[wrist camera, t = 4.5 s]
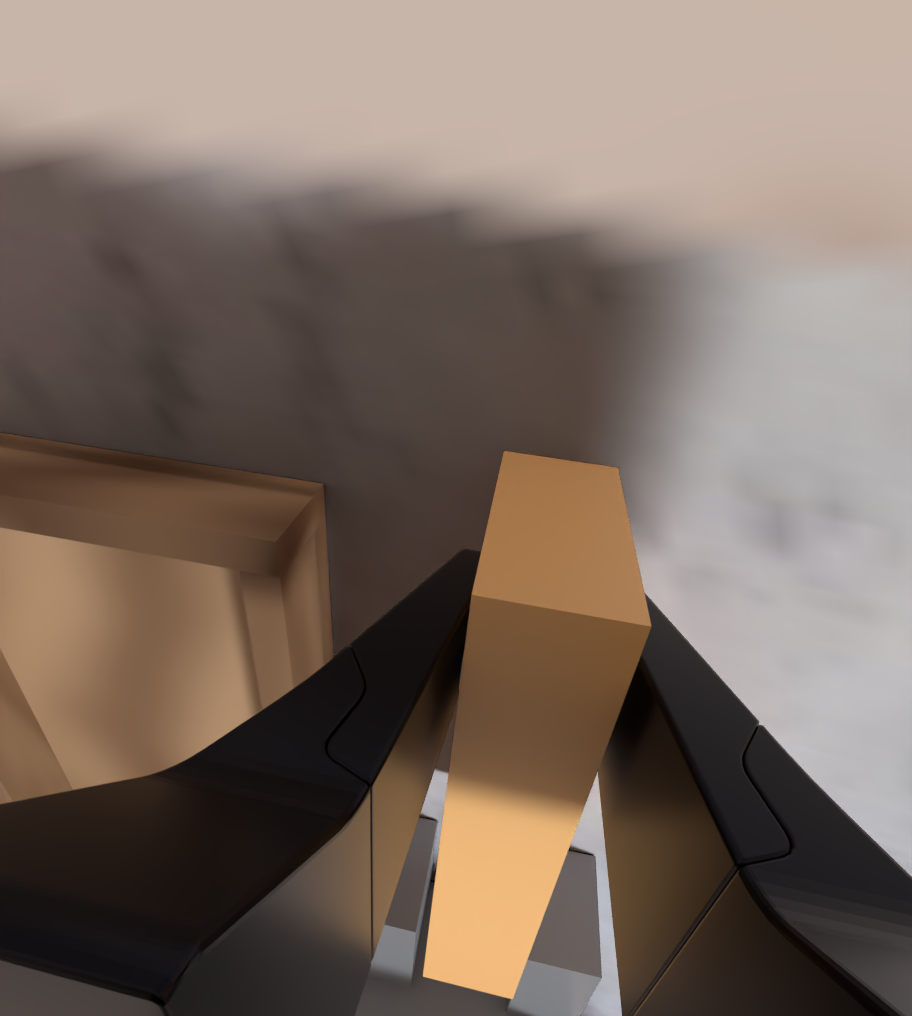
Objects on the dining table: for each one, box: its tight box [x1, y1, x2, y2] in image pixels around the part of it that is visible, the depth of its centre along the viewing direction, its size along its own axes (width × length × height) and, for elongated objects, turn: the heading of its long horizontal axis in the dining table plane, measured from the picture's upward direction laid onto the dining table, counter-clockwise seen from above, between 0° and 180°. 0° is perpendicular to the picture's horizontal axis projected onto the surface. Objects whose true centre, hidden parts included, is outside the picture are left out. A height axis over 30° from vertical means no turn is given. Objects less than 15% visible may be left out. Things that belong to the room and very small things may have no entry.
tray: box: [0, 433, 334, 804], centre depth 15 cm, size 11×16×2 cm
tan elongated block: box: [423, 451, 652, 999], centre depth 10 cm, size 2×11×4 cm, turn 175°
